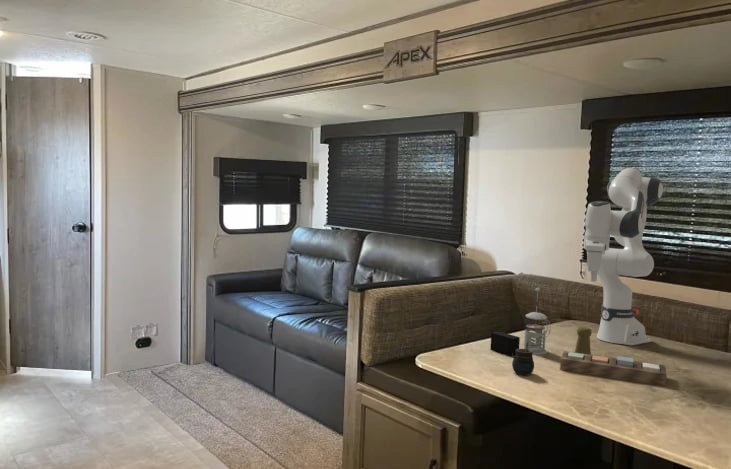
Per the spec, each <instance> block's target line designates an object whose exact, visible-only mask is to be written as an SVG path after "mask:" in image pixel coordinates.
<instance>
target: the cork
mask: <svg viewBox="0 0 731 469" xmlns="http://www.w3.org/2000/svg"><path fill="white" fill-rule="evenodd" d="M576 334H577V336H578V337H577V341H576V345H575V350H574V352H575V353H582V354H589V355H592V351H591V350H592V349H591V336H592V329H591V328H589V327H586V326H580V327H577V329H576Z"/></svg>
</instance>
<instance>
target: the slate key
mask: <svg viewBox="0 0 731 469" xmlns="http://www.w3.org/2000/svg"><path fill="white" fill-rule="evenodd" d="M616 358H617V365H621V366H628V367H633V361H634V358H633V357H626V356H621V355H618V356H617V357H616Z"/></svg>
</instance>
